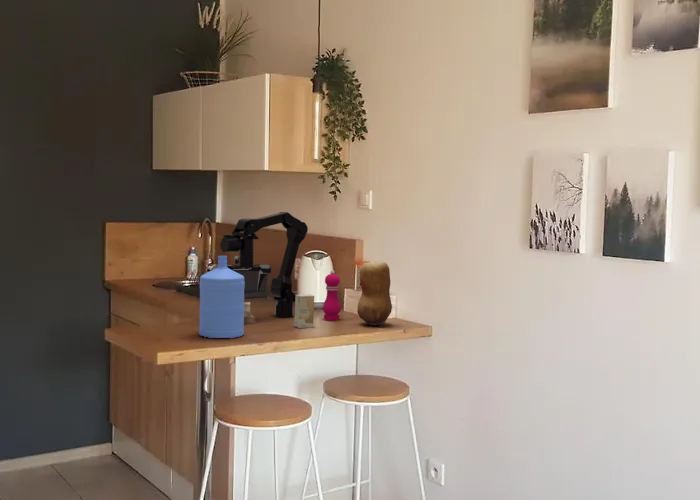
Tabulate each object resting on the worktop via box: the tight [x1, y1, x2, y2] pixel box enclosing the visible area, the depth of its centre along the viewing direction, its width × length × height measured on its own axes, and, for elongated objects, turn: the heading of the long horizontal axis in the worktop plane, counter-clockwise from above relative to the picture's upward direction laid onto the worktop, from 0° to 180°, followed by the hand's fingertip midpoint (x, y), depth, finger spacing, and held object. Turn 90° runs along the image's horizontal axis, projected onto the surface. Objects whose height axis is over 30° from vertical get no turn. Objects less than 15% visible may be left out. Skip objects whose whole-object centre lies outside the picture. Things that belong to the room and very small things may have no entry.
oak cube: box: [244, 301, 251, 317], centre depth 303 cm, size 5×5×5 cm
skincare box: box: [293, 293, 315, 329], centre depth 297 cm, size 6×4×12 cm
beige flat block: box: [244, 313, 256, 325], centre depth 304 cm, size 7×7×3 cm
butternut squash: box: [356, 260, 393, 326], centre depth 304 cm, size 14×13×25 cm
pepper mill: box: [322, 269, 342, 322], centre depth 314 cm, size 7×7×20 cm
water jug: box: [198, 255, 246, 339], centre depth 276 cm, size 16×16×28 cm
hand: (246, 290), depth 307 cm, fingers open, 9 cm apart
